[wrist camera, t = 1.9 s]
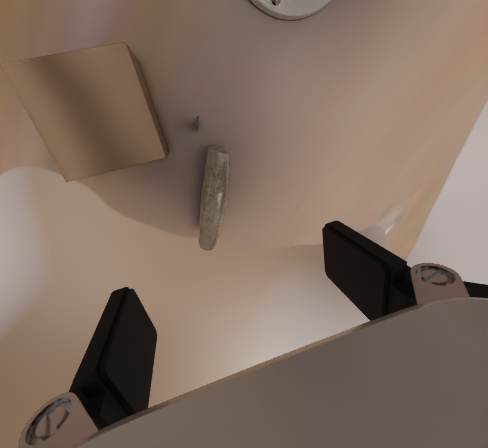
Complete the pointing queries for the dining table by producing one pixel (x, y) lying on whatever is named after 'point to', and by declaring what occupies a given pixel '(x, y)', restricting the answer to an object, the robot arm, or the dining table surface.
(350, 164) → the dining table surface
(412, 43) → the dining table surface
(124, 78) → the tan box
